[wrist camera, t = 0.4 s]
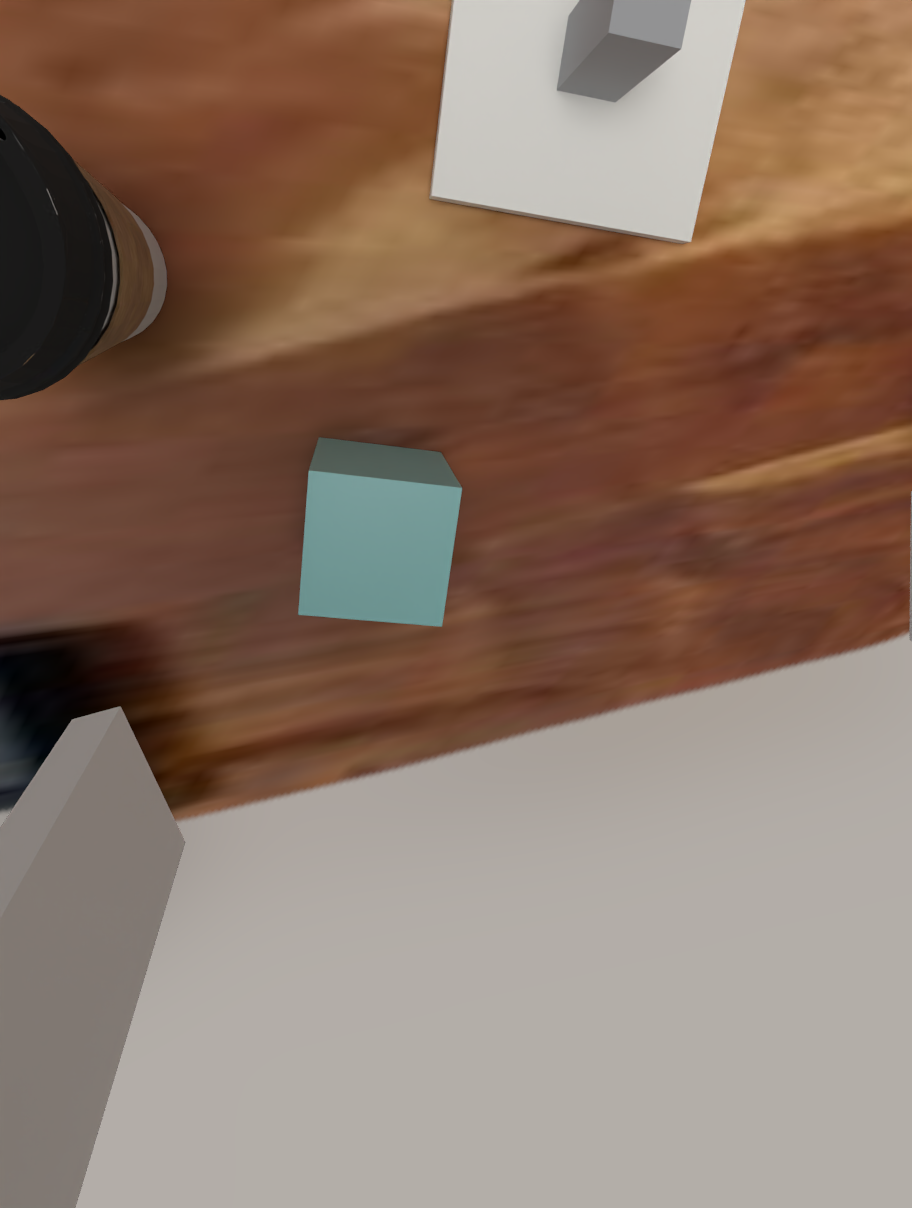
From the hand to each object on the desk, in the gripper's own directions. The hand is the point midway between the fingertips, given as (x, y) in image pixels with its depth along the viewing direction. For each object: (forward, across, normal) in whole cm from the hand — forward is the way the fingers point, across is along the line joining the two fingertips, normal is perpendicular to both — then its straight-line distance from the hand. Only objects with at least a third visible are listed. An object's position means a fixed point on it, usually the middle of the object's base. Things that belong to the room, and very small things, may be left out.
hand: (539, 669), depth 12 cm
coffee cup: (+27, -12, +10) cm, 31 cm away
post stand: (+26, +11, +13) cm, 31 cm away
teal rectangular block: (+26, -3, -3) cm, 27 cm away
